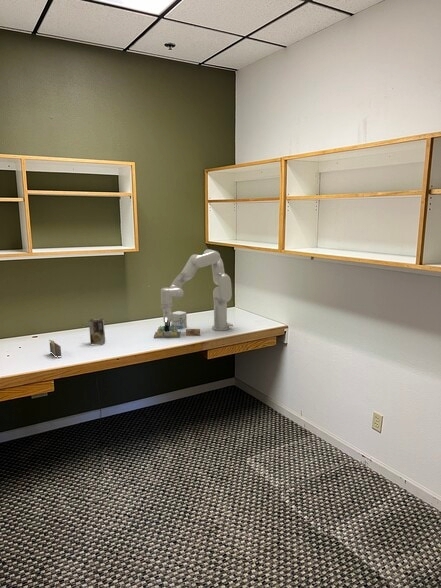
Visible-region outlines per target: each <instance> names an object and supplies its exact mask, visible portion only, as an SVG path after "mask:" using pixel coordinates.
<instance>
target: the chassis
mask: <svg viewBox="0 0 441 588" xmlns="http://www.w3.org/2000/svg"><path fill="white" fill-rule="evenodd" d="M159 327H162V325H159ZM159 327H157V331H155V333H154V336H153V339H180V338H181V333H182V332H181V331H180V330H179V329H178V328H176V331H175V325H174V331H169V332H161V331H160V328H159Z"/></svg>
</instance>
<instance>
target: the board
mask: <svg viewBox="0 0 441 588" xmlns="http://www.w3.org/2000/svg"><path fill="white" fill-rule="evenodd" d="M164 326H165V325H161V327H160V326H158V328H160V331H161V332H165V329H164ZM171 331H174V327H173V326H171V325H170V326H169V332H171ZM175 331H176V327H175Z"/></svg>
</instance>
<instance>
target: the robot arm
mask: <svg viewBox="0 0 441 588" xmlns="http://www.w3.org/2000/svg"><path fill="white" fill-rule="evenodd" d="M207 266H211V271H212V280H213V284H215V285H217V286H216V287H214V289H213V292H212V298H213V326H211V329H212V330H213V331H216V332H217V331H218V332H219V331H220V332H221V331H228V330H229V329H230V327H234V323H230V322H228V304H227V303H228V302H229V301H231V299H232V297H233V296H232V295H233V293H232V292H233V291H232V290H233V289H232V280H231V278H230V276H229V275H228V274H227V273H225V266H224V262H223V259H222V258H221V254H220V253H219V251H217V250H213V249H204V251H203V254H197V253H196V254H194V253H193V254H192V255H191V256H190V257H189V259H188V260H187V262H186V264H185V265H184V267H183V269H182V271H181V272H180V273H179V274H177V276H176V277H175V278H174V280H173V281H172V283H171V284H170V286H169V287H162V288H161V289H160V308H161V309H162V315H163V318H162V319H163V322H164V325H163V326H164V329H165V332H170V331H169V326H171V313H172V309H173V299H181V298H183V296H184V293H185V292H184V290H183V289H182V286H183V285H184V284H185V283H186V282H188V281H190V280H192V278H193V277H195V276H194V275H195V274H196V272H197V270H198V269H200V268H205V267H207Z"/></svg>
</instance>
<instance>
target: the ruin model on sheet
mask: <svg viewBox="0 0 441 588" xmlns="http://www.w3.org/2000/svg"><path fill="white" fill-rule="evenodd" d="M48 341H49V351H50V352H52V353H53V354H54V355H55V356H57V357H58V356H61V357H62V349H61V345H59V344H58V343H56V342H55V341H54V340H51V339H48Z"/></svg>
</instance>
